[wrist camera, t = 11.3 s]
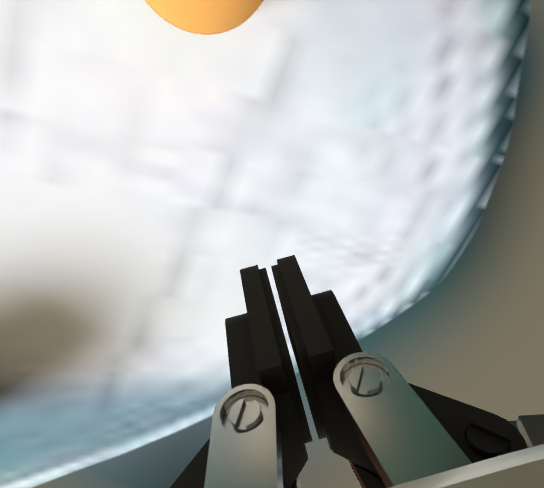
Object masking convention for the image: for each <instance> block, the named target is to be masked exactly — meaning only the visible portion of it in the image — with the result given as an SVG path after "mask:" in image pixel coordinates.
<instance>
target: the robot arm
mask: <svg viewBox="0 0 544 488" xmlns="http://www.w3.org/2000/svg"><path fill="white" fill-rule="evenodd" d="M277 263H278V265H274V266H271V268H272V272H273V276H274V280H275V283H276V287H277V291H278V295H279V299H280V303H281V307H282V311H283V315H284V319H285V323H286V326H287V330H288V334H289V338H290V342H291V345H292V348H293V352H294V355H295V359H296V362H297V366H298V369H299V373H300V376H301V379H302V383H303V386H304V390H305V393H306V396H307V400H308V403H309V407H310V410H311V414H312V417H313V420H314V424H315V427H316V431H317V434H318V437H319V439H322V438H325V437H327V440H328V443H329V446H330V449H331V450H333V452H334V453H336V454H338V455H340V456H342V457H344V458H346V459H348V460H349V463H350V466H351V468H352V470H353V472H354V474H355V476H356V478H357V480H358V482H359V484H360V486H361V488H544V414H537V415H521V416H518V420H516V421H507V420H506V419H504V418H501V417H499V416H497V415H495V414H493V413H490V412H487V411H484V410H482V409H479V408H476V407H474V406H471V405H468V404H465V403H462V402H460V401H457V400H454V399H451V398H448V397H446V396H442V395H440V394H437V393H435V392H432V391H429V390H426V389H423V388H421V387H418V386H415V385H413V384H410V383H407V381H406V380H405V379H404V378H403V376H402V375H401V374H400V373H399V371H398V370H397V369H396V368H395V366H394V365H393V364H392V363H391V362H390V361H389V360H387V358H384V357H383V356H381V355H379V354H375V353H371V352H362V350H361V348H360V346H359V344H358V342H357V340H356V338H355V336H354V334H353V331H352V329H351V327H350V325H349V323H348V321H347V319H346V317H345V315H344V313H343V311H342V309H341V307H340V305H339V303H338V301H337V299H336V297H335V295H334V293H333V292H332V291H331V290H329V291H326V292H322V293H318V294H315V295H311V294H310V292H309V289H308V287H307V284H306V282H305V280H304V277H303V275H302V272H301V270H300V267H299V265H298V263H297V260H296V258H295V255H292V256H289V257H285V258H281V259H278V260H277ZM240 274H241V280H242V285H243V291H244V297H245V303H246V308H247V313H245V314H242V315H238V316H234V317H231V318H227V319H226V320H225V325H226V336H227V346H228V356H229V367H230V377H231V387H232V389H231V390H229V391H228V392H227V393H226V394H225V395H223V396H222V397H221V398H220V400H219V401H218V403H217V405H216V406H215V410H214V413H213V420H212V428H211V436H210V439H209V440H208V441H207V442H206V444H205V445H204V446H203V447H202V448H201V450H200V451H199V452H198V453H197V455H196V456H195V457H194V458H193V460H192V461H191V462H190V463H189V465H188V466H187V467H186V468H185V470H184V471H183V472H182V473H181V475H180V476H179V477H178V479H177V480H176V481H175V482H174V483H173V485H172V486H171V487H170V488H300V481H299V477H298V475H299V473H300V472H301V470H302V468H303V467H304V465H305V463H306V461H307V460H308V455H307V451H306V447H305V443H308V442H311V441H312V437H311V434H310V430H309V426H308V423H307V418H306V415H305V411H304V407H303V404H302V400H301V396H300V392H299V388H298V384H297V381H296V377H295V373H294V369H293V365H292V362H291V358H290V354H289V351H288V347H287V343H286V340H285V336H284V333H283V329H282V325H281V322H280V318H279V315H278V311H277V307H276V304H275V300H274V296H273V293H272V289H271V286H270V282H269V278H268V275H267V271H266V268H263V269H258V265H255V266H252V267H248V268H244V269H241V270H240Z"/></svg>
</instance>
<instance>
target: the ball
mask: <svg viewBox="0 0 544 488" xmlns="http://www.w3.org/2000/svg"><path fill="white" fill-rule="evenodd" d="M145 1H146V2H147V4H148V5H149V6H150V7H151V8H152V9H153V10H154V11H155V12H156V13H157V14H158V15H159V16H160V17H161V18H163V19H164V20H165V21H167V22H168V23H170V24H172V25H173V26H175V27H177V28H180V29H182V30H184V31H187V32H191V33H196V34H203V35H211V34H218V33H223V32H226V31H229V30H231V29H234V28H235V27H237V26H239V25H241V24H242V23H244V22H245V21H246V20H247V19H248V18H250V16H251V15H252V14H253V13H254V12H255V11H256V10H257V9H258V7H259V6H260V5H261V3H262V1H263V0H145Z"/></svg>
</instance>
